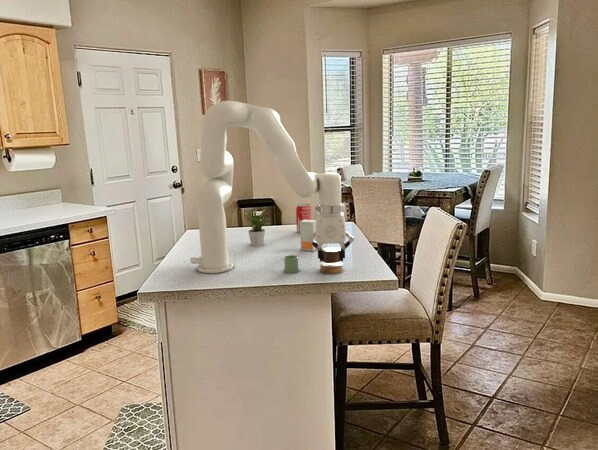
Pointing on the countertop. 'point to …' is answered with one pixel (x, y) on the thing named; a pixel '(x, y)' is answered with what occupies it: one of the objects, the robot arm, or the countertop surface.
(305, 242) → the cosmetic box
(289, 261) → the plastic cup
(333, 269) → the oak chip
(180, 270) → the countertop surface
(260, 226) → the house plant
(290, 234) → the countertop surface
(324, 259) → the brown round canister
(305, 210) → the soda can
